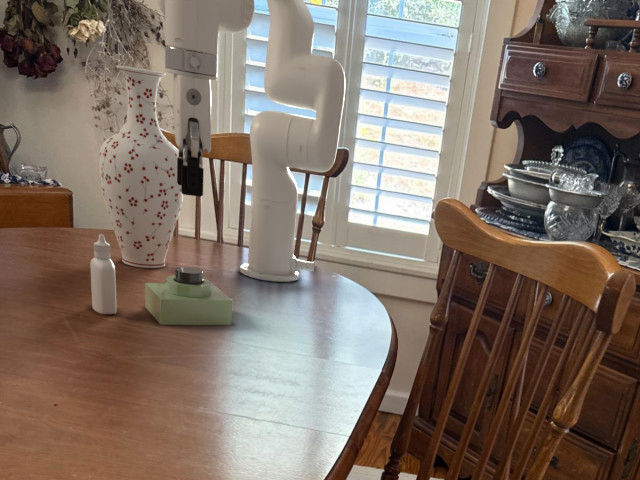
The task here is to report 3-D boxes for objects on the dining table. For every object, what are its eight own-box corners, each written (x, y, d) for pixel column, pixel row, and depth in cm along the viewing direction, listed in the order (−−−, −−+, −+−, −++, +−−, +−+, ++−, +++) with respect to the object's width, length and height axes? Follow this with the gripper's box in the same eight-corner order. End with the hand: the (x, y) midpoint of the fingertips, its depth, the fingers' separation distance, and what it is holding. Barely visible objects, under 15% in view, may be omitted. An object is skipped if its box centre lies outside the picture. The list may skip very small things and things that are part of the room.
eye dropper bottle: (121, 307, 131) (119, 233, 125) (114, 316, 126) (112, 239, 120) (94, 304, 130) (91, 229, 124) (86, 313, 125) (82, 235, 119)
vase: (172, 277, 154) (173, 75, 136) (90, 264, 153) (81, 59, 135) (192, 261, 168) (195, 77, 150) (117, 250, 167) (112, 62, 149)
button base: (213, 308, 139) (214, 274, 136) (231, 325, 132) (233, 289, 129) (145, 307, 133) (144, 271, 130) (160, 324, 126) (160, 287, 123)
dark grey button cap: (197, 280, 132) (198, 267, 131) (205, 287, 129) (206, 274, 128) (172, 279, 130) (172, 266, 129) (179, 286, 127) (179, 273, 126)
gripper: (224, 71, 108) (219, 202, 117) (211, 68, 122) (208, 185, 131) (168, 62, 106) (168, 196, 114) (162, 59, 120) (162, 179, 128)
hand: (189, 190), depth 123 cm, fingers open, 9 cm apart
